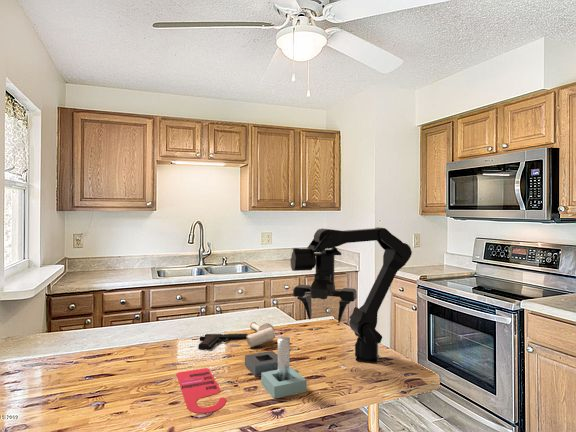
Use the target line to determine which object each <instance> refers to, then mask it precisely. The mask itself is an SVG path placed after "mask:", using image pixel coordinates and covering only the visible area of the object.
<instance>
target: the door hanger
mask: <svg viewBox="0 0 576 432" xmlns="http://www.w3.org/2000/svg"><path fill="white" fill-rule="evenodd" d="M175 376H176V377H177V381H178V384H179V387H180V390H181V393H182V396H183V399H184V403H185V406H186V408H187V410H188V411H190V412H191V413H194V414H208V413H209V414H211V413H213V412H217V411H219V410H221V409H222V408H223V407H224V406H225V405H226V403H227V399H226V398H225V397H220V398H219V399H218V401H217V403H216V404H214V405H211V406H205V407H204V406H201V405H200V406H199V405H198V404H197V401H198V399H199V398H201V399H204V398H207V397H211V396H215V395H217V394H219V393H220V392H221V388H220V387H219V384H218V383H217V380H216V379H215V377H214V376H213V374H212V372H211V370H210V368H208V367H203V368H196V369H191V370H190V369H189V370H185V371H179V372H176V373H175Z"/></svg>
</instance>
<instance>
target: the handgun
mask: <svg viewBox="0 0 576 432" xmlns="http://www.w3.org/2000/svg"><path fill="white" fill-rule="evenodd" d="M248 335H249V333H228V334H227V333H224V334H223V333H206V334H205V335H204V336H199V342H200V343H198V347H197V348H198V350H203V351H211V350H212V349H213V348H215V346H216V345H218V344H219V343H227V342H228V341H229V342H230V341H236V340H237V341H238V340H247V339H246V336H248Z"/></svg>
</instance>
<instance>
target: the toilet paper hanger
mask: <svg viewBox="0 0 576 432" xmlns="http://www.w3.org/2000/svg"><path fill="white" fill-rule="evenodd" d="M249 328H250V330H256V332H254V333H250V334H248V336H246V339H245V340H246V342H247V345H248V346H249V347H250V348H254V347H257V346H259V345H262V344H264V343H267V342H270V341H271V340H274V339H276V334H275V330H276V329H275V327H274V326H273V325H272V324H271V323H269V322H264V323H261V324H260V325H258V324H257V322H256V321H251V322H250V323H249Z"/></svg>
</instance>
